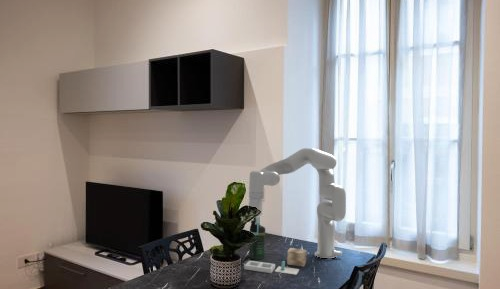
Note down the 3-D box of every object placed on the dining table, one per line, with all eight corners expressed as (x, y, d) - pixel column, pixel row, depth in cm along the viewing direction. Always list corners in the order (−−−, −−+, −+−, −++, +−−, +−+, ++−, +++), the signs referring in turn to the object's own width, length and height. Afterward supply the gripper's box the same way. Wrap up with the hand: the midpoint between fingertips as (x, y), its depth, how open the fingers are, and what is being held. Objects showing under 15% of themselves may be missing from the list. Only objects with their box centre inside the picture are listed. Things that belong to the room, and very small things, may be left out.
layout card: (299, 270, 178) (299, 261, 178) (296, 275, 171) (296, 266, 171) (278, 267, 182) (278, 258, 182) (274, 272, 174) (275, 263, 174)
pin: (259, 233, 180) (259, 216, 180) (257, 235, 176) (257, 217, 176) (252, 233, 181) (253, 215, 181) (250, 234, 178) (251, 217, 178)
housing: (305, 263, 188) (306, 249, 188) (304, 267, 182) (304, 253, 182) (289, 261, 191) (290, 247, 191) (287, 265, 185) (287, 251, 185)
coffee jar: (266, 260, 193) (267, 226, 193) (253, 261, 190) (254, 227, 190) (259, 254, 202) (260, 222, 202) (247, 255, 199) (248, 223, 199)
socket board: (275, 268, 179) (275, 264, 179) (271, 274, 172) (271, 269, 172) (249, 265, 184) (249, 260, 184) (244, 270, 176) (244, 265, 176)
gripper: (254, 193, 188) (253, 227, 188) (244, 196, 172) (242, 234, 172) (267, 194, 185) (266, 228, 185) (258, 198, 170) (257, 235, 170)
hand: (255, 230), depth 179 cm, fingers closed on pin, 3 cm apart
